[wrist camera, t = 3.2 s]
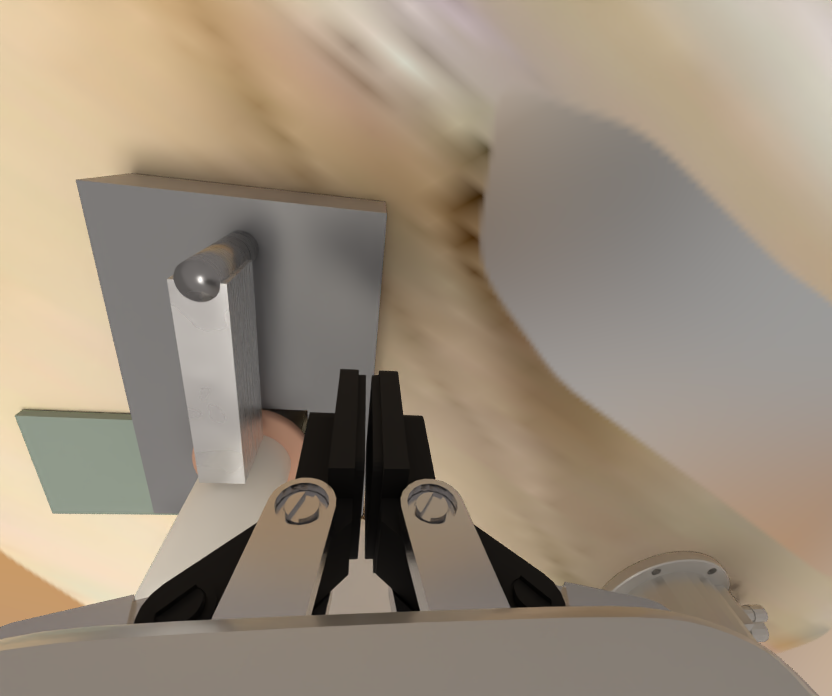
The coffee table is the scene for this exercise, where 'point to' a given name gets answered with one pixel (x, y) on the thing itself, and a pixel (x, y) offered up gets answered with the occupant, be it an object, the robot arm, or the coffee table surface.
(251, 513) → the plug
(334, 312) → the grey block with hole
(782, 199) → the coffee table surface
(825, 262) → the coffee table surface
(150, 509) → the mat
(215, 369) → the clip
